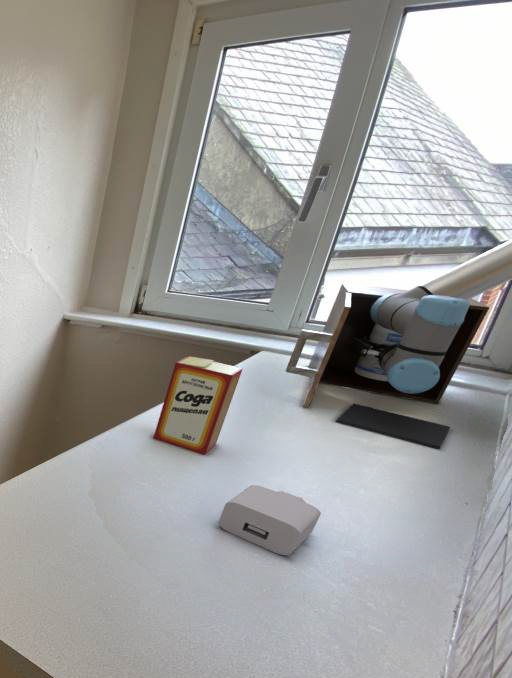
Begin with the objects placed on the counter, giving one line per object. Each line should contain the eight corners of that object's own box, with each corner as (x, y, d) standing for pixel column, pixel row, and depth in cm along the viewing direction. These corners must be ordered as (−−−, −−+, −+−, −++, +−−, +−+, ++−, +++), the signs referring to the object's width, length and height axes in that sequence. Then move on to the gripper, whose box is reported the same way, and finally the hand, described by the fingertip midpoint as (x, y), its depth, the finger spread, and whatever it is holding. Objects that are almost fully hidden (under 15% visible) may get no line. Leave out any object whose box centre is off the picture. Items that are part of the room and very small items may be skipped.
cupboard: (438, 404, 134) (489, 307, 124) (311, 381, 147) (348, 291, 137) (423, 385, 148) (468, 296, 138) (308, 366, 160) (342, 283, 150)
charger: (323, 523, 82) (288, 558, 74) (255, 496, 89) (216, 526, 80) (336, 496, 80) (301, 529, 72) (266, 471, 87) (227, 499, 78)
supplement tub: (371, 381, 138) (398, 323, 131) (344, 370, 146) (368, 314, 140) (410, 383, 137) (439, 325, 131) (381, 372, 146) (407, 316, 139)
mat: (439, 449, 109) (440, 446, 109) (335, 421, 121) (336, 419, 120) (448, 429, 120) (450, 426, 119) (352, 405, 131) (353, 403, 131)
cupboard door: (273, 400, 132) (312, 302, 121) (283, 376, 150) (317, 289, 139) (308, 407, 128) (350, 307, 118) (314, 382, 146) (351, 293, 136)
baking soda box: (215, 445, 107) (243, 366, 100) (204, 454, 102) (233, 373, 95) (165, 429, 113) (188, 354, 105) (153, 438, 108) (176, 360, 101)
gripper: (335, 367, 132) (329, 348, 148) (460, 388, 121) (438, 365, 138) (348, 336, 128) (341, 320, 145) (478, 355, 117) (453, 335, 134)
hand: (388, 342), depth 141 cm, fingers closed on supplement tub, 9 cm apart
